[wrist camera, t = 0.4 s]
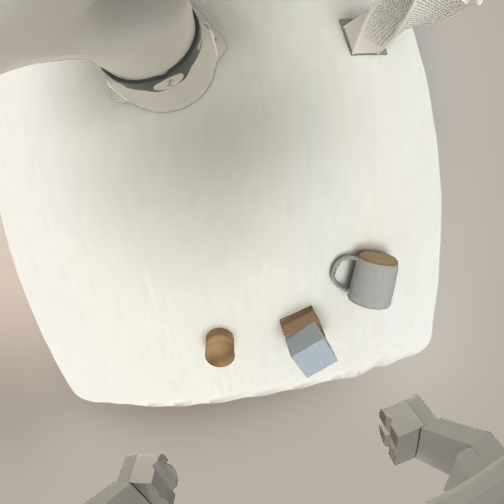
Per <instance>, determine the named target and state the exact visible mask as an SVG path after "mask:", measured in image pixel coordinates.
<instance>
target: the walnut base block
mask: <svg viewBox="0 0 504 504" xmlns="http://www.w3.org/2000/svg"><path fill="white" fill-rule="evenodd" d="M314 321H315V322H316V324H317V325H318V327H319V329H320V330H321V332H322V333H323V335H324V336H325V334H324V332H323V329H322V327H321V324H320V321H319V319H318V317H317V316H316V314H315V312H314V310H313V308H312V306H310V307H308V308H305V309H303V310H301V311H299V312H296V313H294V314H292V315H290V316H288V317H285V318H283V319H281V320H280V323H281V326H282V329H283V332H284V335H285V337H286V338H287V337H289V336H291V335H292V334H294V333H296V332H298V331H299V330H301V329H303V328H304V327H306V326H308V325H309V324H311V323H313V322H314ZM325 338H326V337H325ZM326 340H327V339H326Z"/></svg>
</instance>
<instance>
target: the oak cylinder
mask: <svg viewBox="0 0 504 504" xmlns="http://www.w3.org/2000/svg"><path fill="white" fill-rule="evenodd" d="M234 357H235V355H234V338H233V335H232V333H231V332H230V331H228V330H227V329H224V328H216V329H213V330H211V331H210V332H209V333H208V335H207V339H206V351H205V358H206V360H207V361H208V363H210V364H211V365H213V366H216V367H225V366H228V365H229V364H231V363H232V362H233V360H234Z"/></svg>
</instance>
